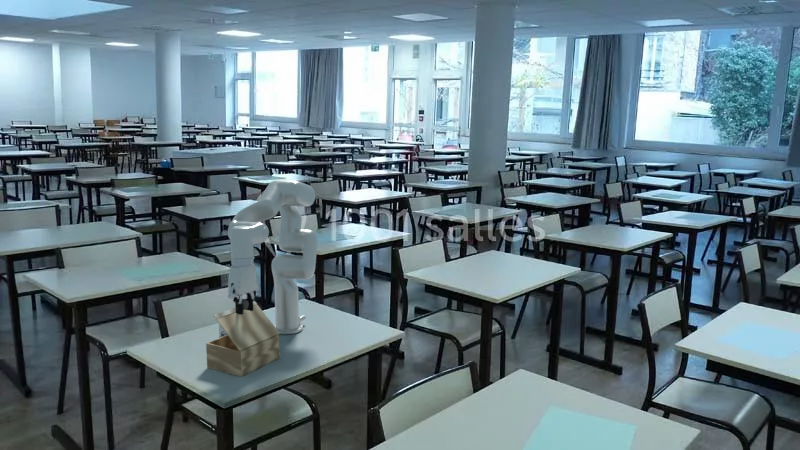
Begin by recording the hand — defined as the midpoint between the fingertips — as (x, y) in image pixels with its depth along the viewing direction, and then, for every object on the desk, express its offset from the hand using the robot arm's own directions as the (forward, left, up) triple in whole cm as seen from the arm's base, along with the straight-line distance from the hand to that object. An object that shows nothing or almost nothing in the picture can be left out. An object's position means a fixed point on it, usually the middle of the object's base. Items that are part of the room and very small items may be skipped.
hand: (244, 311), depth 222 cm
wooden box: (0, -1, -19) cm, 19 cm away
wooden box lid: (0, +1, -5) cm, 5 cm away
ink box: (-8, -16, -20) cm, 27 cm away
